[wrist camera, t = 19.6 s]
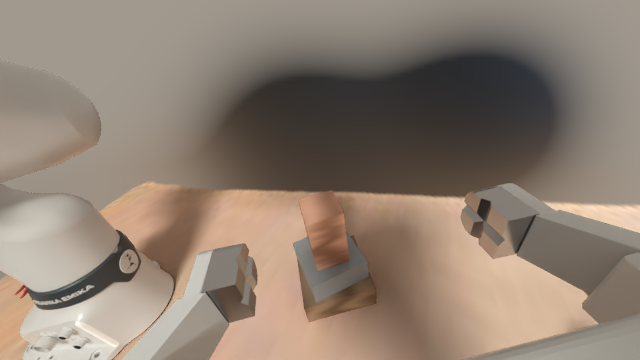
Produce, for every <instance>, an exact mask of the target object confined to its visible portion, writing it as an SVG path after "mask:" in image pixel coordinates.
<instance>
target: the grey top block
mask: <svg viewBox="0 0 640 360" xmlns="http://www.w3.org/2000/svg"><path fill="white" fill-rule="evenodd" d="M346 236H347V244H348V252H349V260H350V261H349V262H346V263H343V264H340V265H337V266H334V267H331V268H328V269H325V270H322V271H317V268H316V264H315V261H314V257H313V254H312V251H311V247H310V243H309V239H308V237H307V238H304V239H302V240H300V241H297V242H295V243H293V246H294V249H295V252H296V255H297V259H298V261H299V263H300V266H301V268H302V270H303V273H304V275H305V277H306V280H307V282H308V284H309V287H310V289H311V292H312V294H313V296H314V299H315V301H316V303H317V302H319V301H321V300H323V299H325V298H327V297H329V296H331V295H333V294H335V293H337V292H339V291H341V290H343V289H345V288H347V287H349V286H351V285H353V284H355V283H357V282H359V281H361V280H363V279H365V278H367V277H369V276H368V261H367V259H366V258H365V256H364V255H363V254H362V252H361V251H360V250H359V248H358V247H357V246H356V244H355V243H354V242H353V240H352V239H351V237H350V236H349V235H348V233H347V232H346Z"/></svg>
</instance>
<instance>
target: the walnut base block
mask: <svg viewBox="0 0 640 360" xmlns="http://www.w3.org/2000/svg"><path fill="white" fill-rule="evenodd" d="M350 237H351V239H352V240H353V242H354V243H355V244H356V246H357V243H356V241H355V239H354V236H350ZM357 247H358V246H357ZM297 260H298V259H297ZM298 267H299V274H300V281H301V288H302V295H303V303H304V309H305V312H306V315H307V317H308V320H309V322H311V321H315V320H318V319H322V318H326V317H329V316H333V315H336V314H340V313H343V312H347V311H350V310H354V309H357V308H361V307H364V306H368V305H371V304H375V303H376V288H375V286H374V283H373V281H372V279H371V276H370V274H369V272H368V276H369V277H367V278H365V279H363V280H361V281H359V282H357V283H355V284H353V285H351V286H349V287H347V288H345V289H343V290H341V291H339V292H337V293H335V294H333V295H331V296H329V297H327V298H325V299H323V300H321V301H319V302H317V303H316V301H315V299H314V296H313V294H312V292H311V289H310V287H309V284H308V282H307V280H306V277H305V275H304V273H303V270H302V268H301V266H300V263H299V261H298Z"/></svg>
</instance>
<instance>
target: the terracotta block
mask: <svg viewBox="0 0 640 360" xmlns="http://www.w3.org/2000/svg"><path fill="white" fill-rule="evenodd" d="M298 201H299V205H300V209H301V213H302V216H303V220H304V224H305V228H306V232H307V236H308V239H309V243H310V247H311V251H312V254H313V257H314V261H315V264H316V268H317V271H322V270H325V269H328V268H331V267H334V266H337V265H340V264H343V263H346V262H349V261H350V260H349V252H348V244H347V236H346V228H345V219H344V212H343V210H342V208H341V206H340V204H339V202H338V201H337V199H336V197H335V195H334V193H333V191H332V190H330V191H327V192H323V193H320V194H316V195H313V196H309V197H306V198H302V199H299V200H298Z"/></svg>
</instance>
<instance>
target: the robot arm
mask: <svg viewBox="0 0 640 360" xmlns="http://www.w3.org/2000/svg"><path fill="white" fill-rule="evenodd" d="M100 135H101V121H100V117H99V114H98V112H97V110H96V108H95V106H94V105H93V103H92V102H91V101H90V99H89V98H88V97H87V96H86V95H85V94H84V93H83V92H82V91H80V90H79V89H78V88H77V87H76V86H74V85H73V84H71V83H70V82H68V81H66V80H64V79H63V78H61V77H59V76H56V75H54V74H52V73H49V72H47V71H44V70H38V69H33V68H29V67H25V66H21V65H17V64H14V63H11V62H7V61H4V60H1V59H0V183H2V182H5V181H8V180H12V179H15V178H17V177H21V176H24V175H27V174H30V173H33V172H37V171H39V170H42V169H46V168H49V167H52V166H55V165H58V164H61V163H63V162H65V161H66V160H69V159H70V158H72V157H75V156H76V155H78V154H80V153H82V152H84V151H86V150H88V149H89V148H91V147H93V146H95V145H96V144H97V143H98V141H99V138H100ZM465 203H466V204H467V206H466V207H465V208H464V209H463V210H462V213H461V220H462V224H463V226H464V228H465V230H466V231H467V232H468V233H469V234H470V235H472V236H474V237H476V238H479V245H480V246H481V247H482V248H483V249H484V250H485V251H486V252H487V253H488V254H489V255H490V256H491V257H492V259H495V258H500V257H504V256H509V255H514V254H517V256H519V257H521V258H523V259H525V260H526V261H528V262H530V263H532V264H534V265H536V266H538V267H540V268H542V269H543V270H545V271H547V272H549V273H551V274H553V275H555V276H557V277H558V278H560V279H562V280H564V281H566V282H568V283H570V284H572V285H573V286H575V287H577V288H579V289H581V290H583V291H585V292H587V293H588V294H590V295H589V296H588V297H587V299H586V300H585V301H584V302H583V303H582V308H583V309H584V310H585V311H586V312H587V313H588V314H589V315H590V316H591V317H593V318H594V319H595V320H596V321H597V322H598V323H599V324H597V325H593V326H589V327H585V328H581V329H577V330H574V331H570V332H566V333H562V334H558V335H554V336H550V337H547V338H543V339H539V340H535V341H531V342H527V343H523V344H520V345H516V346H512V347H508V348H504V349H500V350H496V351H493V352H489V353H485V354H481V355H477V356H473V357H469V358H466V359H462V360H640V233H638V232H634V231H631V230H627V229H624V228H620V227H617V226H613V225H610V224H607V223H603V222H600V221H596V220H593V219H589V218H586V217H582V216H579V215H576V214H572V213H569V212H565V211H562V210H558V211H555V210H553V209H552V208H550V207H549V206H547V205H546V204H544V203H543V202H541V201H540V200H538V199H537V198H535V197H534V196H532V195H531V194H529V193H527V192H526V191H524V190H523V189H521V188H520V187H518V186H517V185H515V184H512V183H508V184H503V185H499V186H495V187H490V188H486V189H482V190H478V191H473V192H469V193H468V194H467V195H466V197H465ZM248 253H249V249H248V248H247V246H246V244H238V245H233V246H228V247H223V248H218V249H215V250H209V251H204V252H200V253H199V254H198V255H197V257H196V260H195V263H194V266H193V269H192V272H191V275H190V277H189V280H188V283H187V286H186V289H185V292H184V295H183V298H179V299H177V300H176V301H175V302H174V303H173V305H172V306H171V307H170V308H169V309H168V310H167V311H166V312H165V313H164V314H163V315H162V316H161V318H160V319H159V320H158V321H157V322H156V323H155V324H154V325H153V326H152V327H151V328H150V329H149V330H148V332H147V333H146V334H145V335H144V336H143V337H142V338H141V339H140V340H139V341H138V342H137V343H136V345H135V346H134V347H133V348H132V349H131V350H130V351H129V352H128V353H127V354H126V355H125V356H124V357H123V359H122V360H209V359H210V357H211V355H212V354H213V352H214V350H215V349H216V347H217V345H218V343H219V342H220V340H221V338H222V336H223V335H224V333H225V331H226V330H227V328H228V326H229V323H231V322H234V321H238V320H242V319H245V318H249V317H253V316H255V305H256V295H255V294H254V292H253V290H254V288H255V287H256V285H257V268H256V265H255V262H254V260H253V258H251V257H249V256H248ZM0 270H1V271H2V272H4V273H6V274H7V275H9V276H11V277H12V278H14V279H15V280H17V281H19V282H20V283H22V284H23V286H22V287H21V288H20V289H19V290H18V291H17V292H16V293H15V294H14V295H17V294H18V293H19V292H21V291H22V290H23V289H24V288H25V289H24V290H23V292H22V294H21V295H20V297H19V298H20V299H21V298H23V297H24V296H25V295H26V294H27V293H29V295H30V297H31V298H32V300H33V302H34V304H33V306H32V308H31V309H30V311H29V312H28V314H27V316H26V317H25V319H24V321H23V323H22V325H21V329H20V335H21V337H22V338H23V339H25V340H26V341H28V342H30V343H29V345H28V347H27V349H26V351H25V353H24V356H23V360H112V359H113V358H114V357H115V356H116V355H117V354H118V353H119V352H120V351H121V350H122V348H123V347H124V346H125V345H126V344H128V343H129V342H130V341H131V340H133V339H134V338H136V337H137V336H138V335H140V334H141V333H142V332H143V331H145V330H146V329H147V328H148V327H149V326H150V325H151V324H152V323H153V322H154V321H155V320H156V319H157V318H158V317H159V316H160V314H161V313H162V312H163V310H164V309H165V307H166V306H167V304H168V302H169V300H170V298H171V296H172V293H173V288H174V282H173V278H172V277H171V275H170V274H168V273H167V272H165V271H163V270H162V269H161V268H160V266H159V264H158V263H157V262H156V261H151V260H150V259H148V258H147V257H146V256H145V255H144V254H142V253H141V252H140V251H139V250H138V249H136V248H135V247H134V245H133V244H132V243H131V242H130V240H129V239H128V237H127V236H126V235H124V234H123V233H122V232H120V231H118V230H115V229H114V228H113V227H112V226H111V225H110V224H109V222H108V221H107V220H106V219H105V218H104V217H103V216H102V215H101V214H100V213H99V211H98V210H97V209H96V208H95V207H94V206H93V205H92V204H91V203H90V202H89V201H87V200H85V199H83V198H81V197H78V196H75V195H71V194H65V193H43V194H42V193H29V192H24V191H19V190H15V189H12V188H9V187H7V186H5V185H2V184H0Z"/></svg>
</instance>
